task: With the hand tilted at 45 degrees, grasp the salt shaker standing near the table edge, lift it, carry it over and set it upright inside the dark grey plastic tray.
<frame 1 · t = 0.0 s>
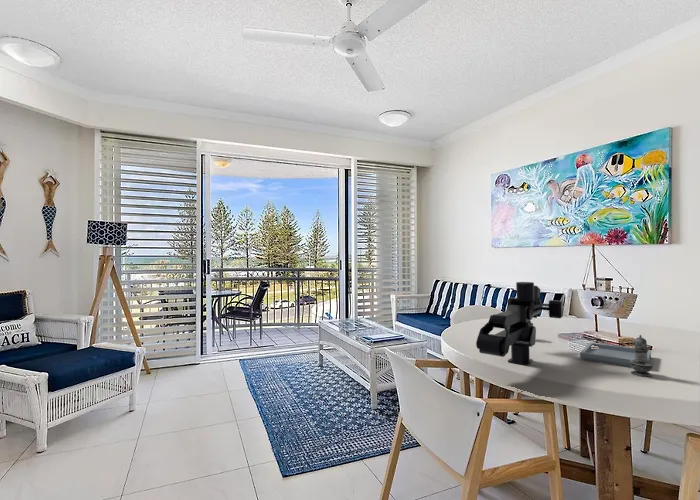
hand: (540, 304, 145), 17 cm above the table, tool horizontal, fingers open, 9 cm apart
supplement bottle: (522, 339, 158), on the table
tray: (615, 358, 127), on the table
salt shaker: (641, 375, 111), on the table
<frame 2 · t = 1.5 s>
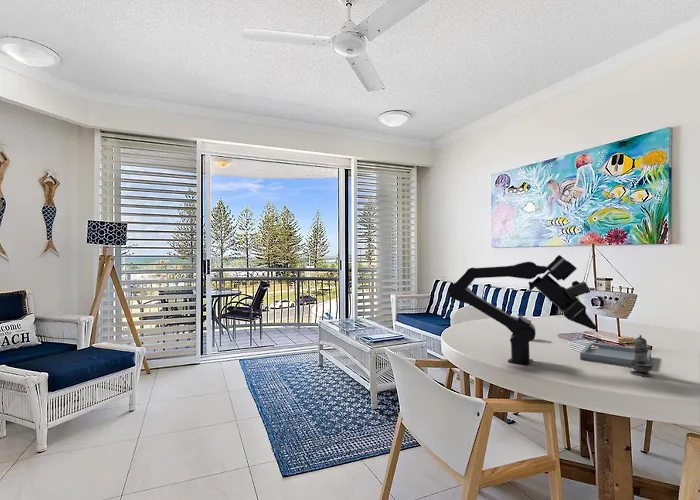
hand: (593, 325, 116), 14 cm above the table, tool tilted 45°, fingers open, 9 cm apart
nothing on the table moved.
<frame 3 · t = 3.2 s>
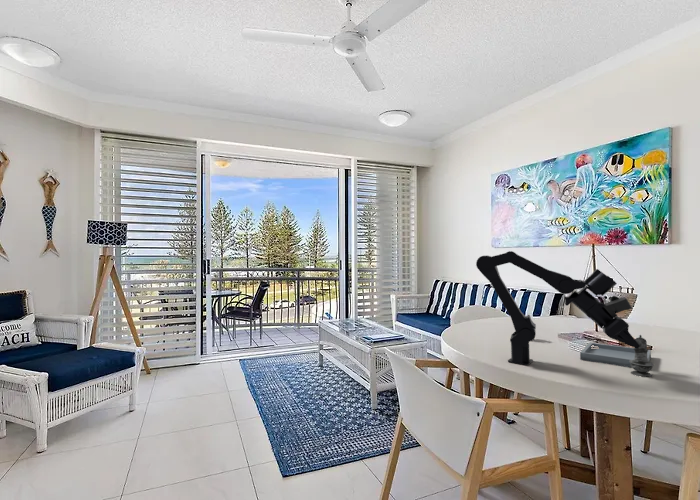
hand: (634, 343, 112), 9 cm above the table, tool tilted 45°, fingers open, 9 cm apart
nothing on the table moved.
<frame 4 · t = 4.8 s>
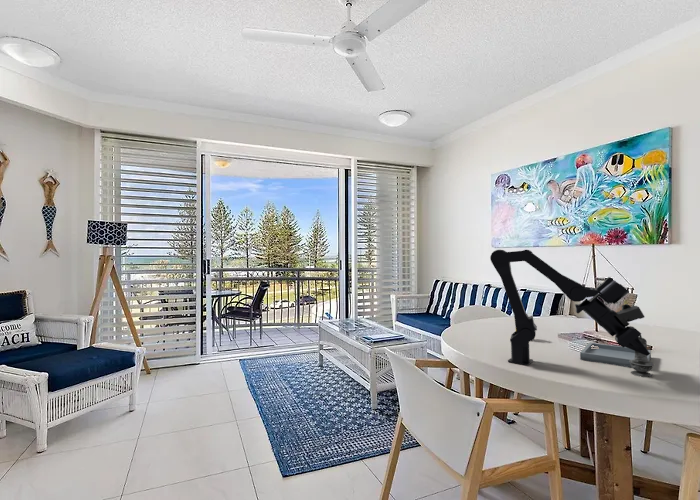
hand: (646, 353, 110), 7 cm above the table, tool tilted 45°, fingers closed on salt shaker, 4 cm apart
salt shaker: (641, 375, 111), on the table, touching gripper
everything else where it was.
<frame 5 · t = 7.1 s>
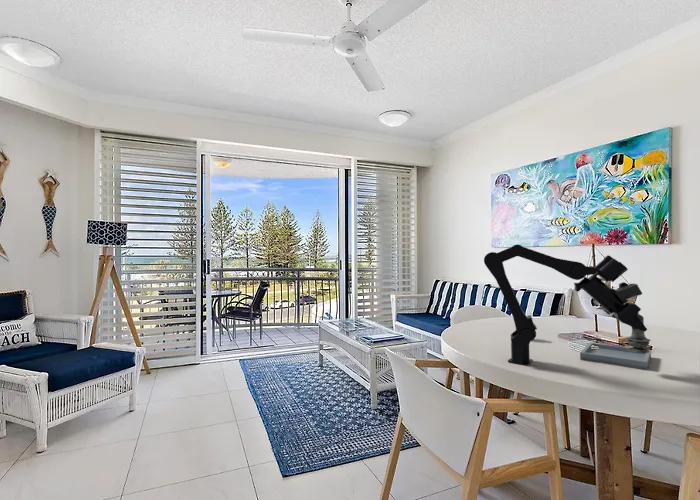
hand: (643, 329, 113), 13 cm above the table, tool tilted 45°, fingers closed on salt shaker, 4 cm apart
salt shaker: (638, 351, 113), point 6 cm above the table, touching gripper
everything else where it was.
when the fingers open (8 cm above the table, at t = 9.6 s): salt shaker stays where it is, resting on tray.
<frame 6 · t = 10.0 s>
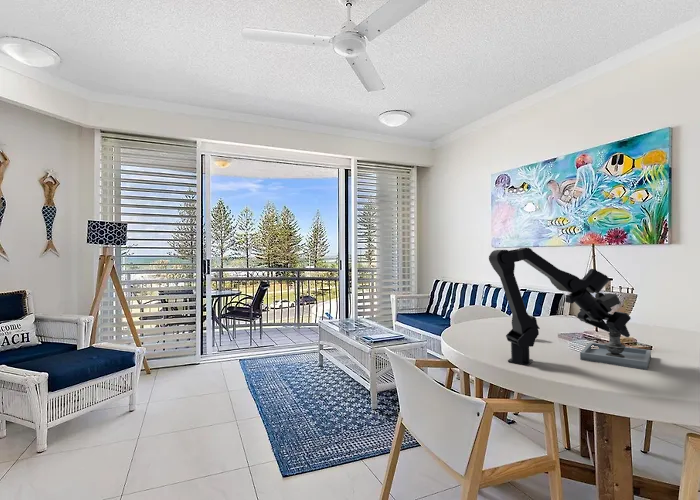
hand: (618, 333, 128), 9 cm above the table, tool tilted 45°, fingers open, 8 cm apart
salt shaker: (615, 356, 127), point 1 cm above the table, touching tray
everything else where it was.
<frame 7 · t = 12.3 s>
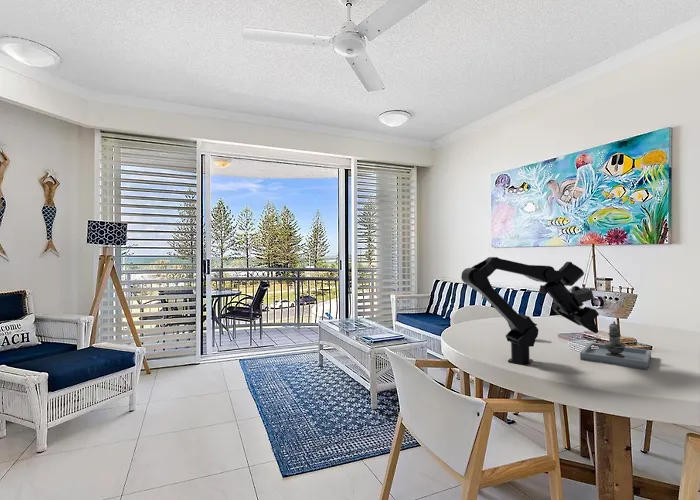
hand: (588, 328, 128), 10 cm above the table, tool tilted 40°, fingers open, 9 cm apart
nothing on the table moved.
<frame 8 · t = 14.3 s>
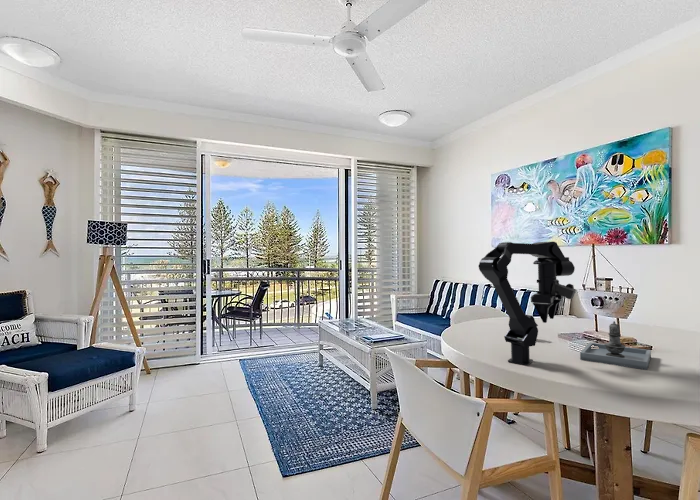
hand: (548, 320, 131), 13 cm above the table, tool pointing down, fingers open, 9 cm apart
nothing on the table moved.
at the end: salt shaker inside the target area on the tray (0.1 cm from its centre), point 0.8 cm above the tray's base; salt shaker tilted 0°; the gripper is holding nothing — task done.
